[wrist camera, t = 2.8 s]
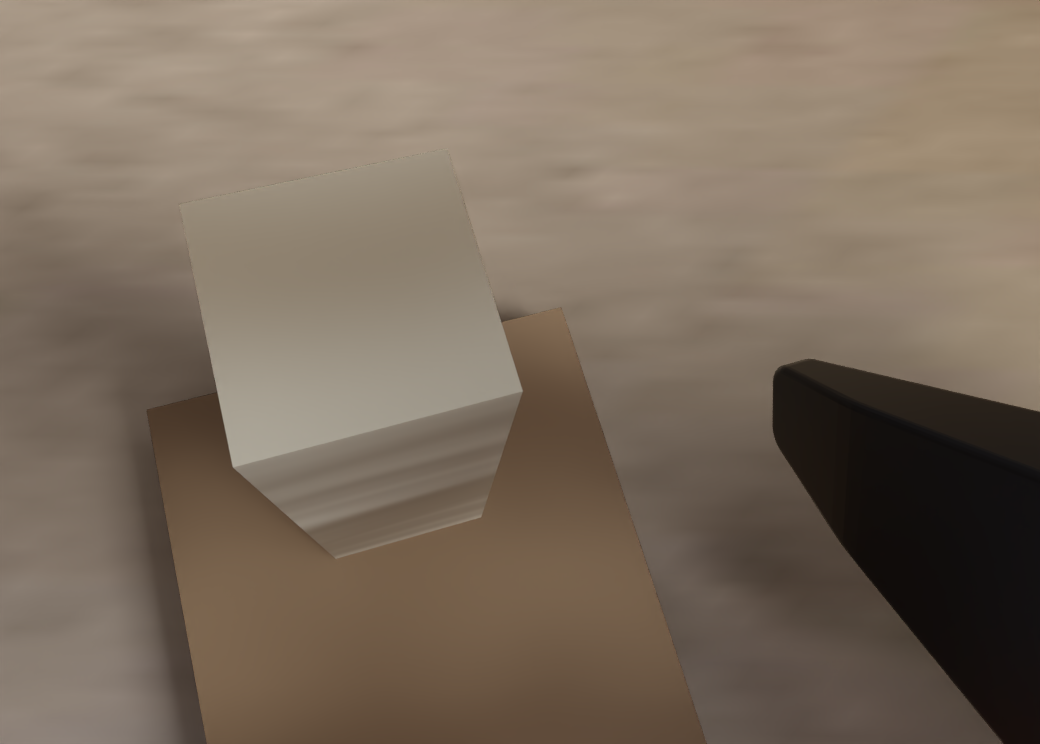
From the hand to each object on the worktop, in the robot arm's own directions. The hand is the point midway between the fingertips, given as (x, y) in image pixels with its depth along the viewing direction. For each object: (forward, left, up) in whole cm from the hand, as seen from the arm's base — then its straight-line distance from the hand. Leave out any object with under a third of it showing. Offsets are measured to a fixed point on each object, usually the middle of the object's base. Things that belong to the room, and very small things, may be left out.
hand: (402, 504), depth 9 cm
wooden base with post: (-3, +3, -9) cm, 10 cm away
